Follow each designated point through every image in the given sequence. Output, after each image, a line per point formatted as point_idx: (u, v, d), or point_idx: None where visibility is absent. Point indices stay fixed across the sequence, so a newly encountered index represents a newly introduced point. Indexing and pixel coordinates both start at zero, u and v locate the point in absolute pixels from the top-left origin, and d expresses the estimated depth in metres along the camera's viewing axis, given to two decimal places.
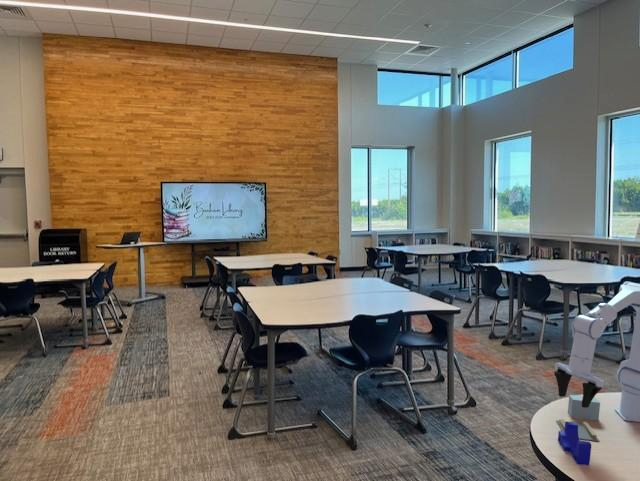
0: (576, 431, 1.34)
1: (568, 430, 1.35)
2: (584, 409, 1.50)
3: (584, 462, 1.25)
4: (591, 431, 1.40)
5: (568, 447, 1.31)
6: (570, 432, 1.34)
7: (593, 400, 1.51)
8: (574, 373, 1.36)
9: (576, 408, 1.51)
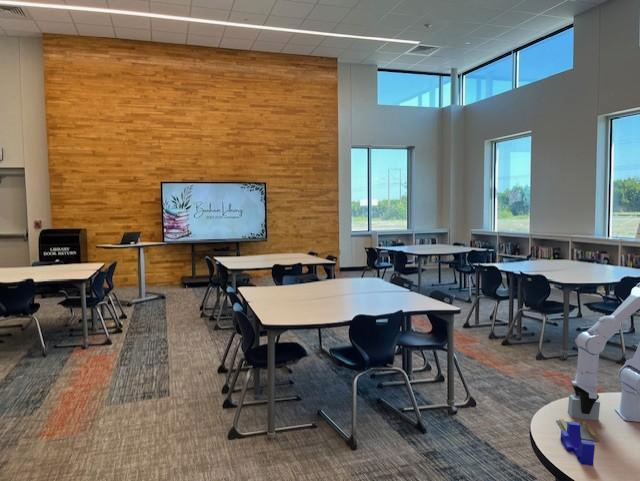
0: (578, 431, 1.34)
1: (571, 430, 1.35)
2: None
3: (588, 462, 1.25)
4: (591, 431, 1.40)
5: (571, 447, 1.31)
6: (573, 432, 1.34)
7: None
8: (575, 384, 1.51)
9: (576, 408, 1.51)
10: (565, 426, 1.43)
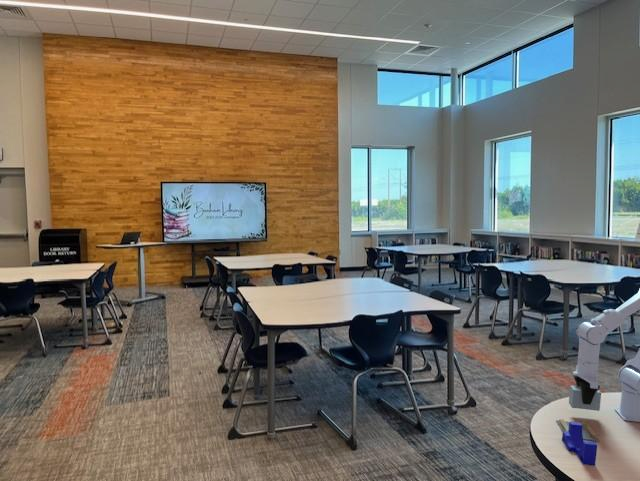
0: (580, 431, 1.34)
1: (572, 430, 1.35)
2: None
3: (590, 462, 1.25)
4: (591, 431, 1.40)
5: (573, 447, 1.31)
6: (574, 432, 1.34)
7: None
8: (576, 374, 1.50)
9: (577, 398, 1.50)
10: (565, 426, 1.43)
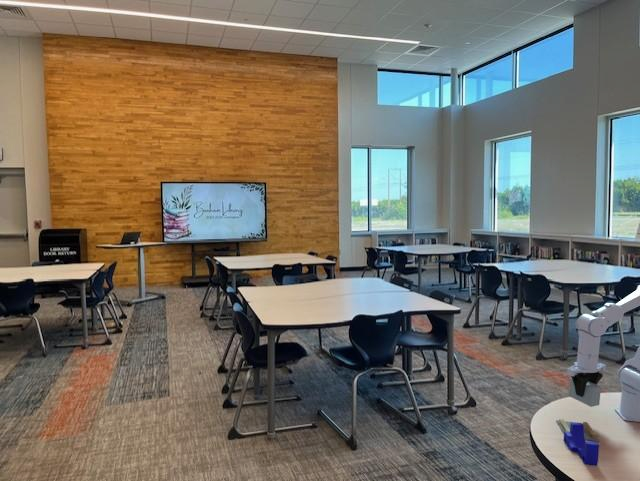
0: (582, 431, 1.34)
1: (574, 430, 1.35)
2: None
3: (592, 462, 1.25)
4: (591, 431, 1.40)
5: (575, 447, 1.31)
6: (576, 432, 1.34)
7: (591, 385, 1.46)
8: (575, 364, 1.50)
9: (572, 387, 1.50)
10: (565, 426, 1.43)
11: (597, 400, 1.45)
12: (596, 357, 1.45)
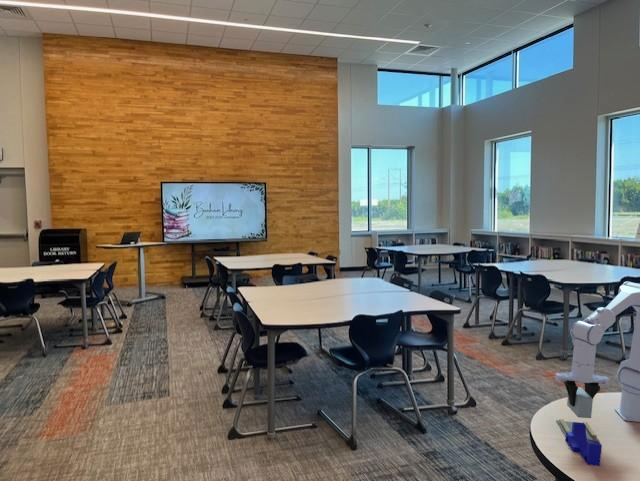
0: (584, 431, 1.34)
1: (576, 430, 1.35)
2: None
3: (594, 462, 1.25)
4: (591, 431, 1.40)
5: (577, 448, 1.31)
6: (578, 432, 1.34)
7: (581, 395, 1.39)
8: None
9: None
10: (565, 426, 1.43)
11: (588, 412, 1.38)
12: (587, 366, 1.37)
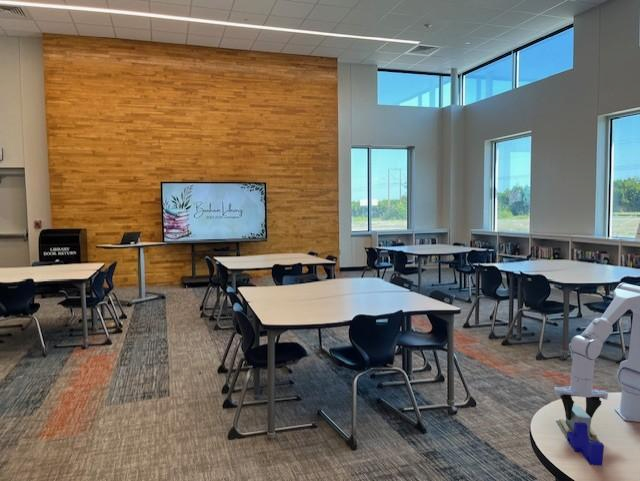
0: (585, 431, 1.34)
1: (578, 430, 1.35)
2: (571, 419, 1.43)
3: (597, 463, 1.25)
4: (591, 431, 1.40)
5: (579, 448, 1.31)
6: (580, 432, 1.34)
7: (580, 414, 1.40)
8: None
9: None
10: (565, 426, 1.43)
11: None
12: (586, 381, 1.38)
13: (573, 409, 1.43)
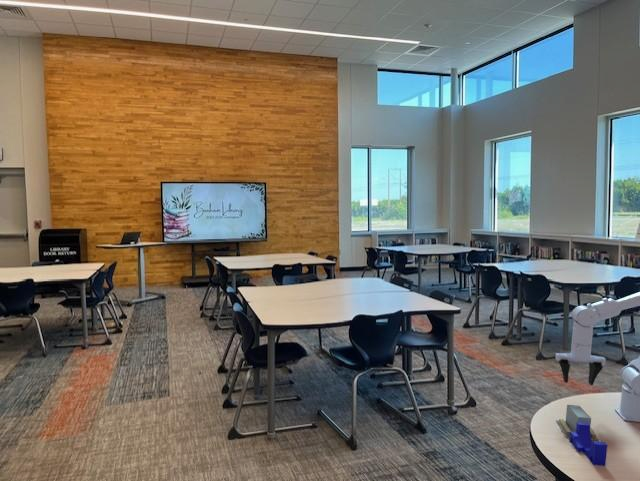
0: (588, 431, 1.34)
1: (580, 430, 1.35)
2: (571, 419, 1.43)
3: (600, 463, 1.25)
4: (591, 431, 1.40)
5: (582, 448, 1.31)
6: (582, 432, 1.34)
7: (580, 414, 1.40)
8: None
9: (568, 415, 1.45)
10: (565, 426, 1.43)
11: None
12: (584, 347, 1.51)
13: (573, 409, 1.43)
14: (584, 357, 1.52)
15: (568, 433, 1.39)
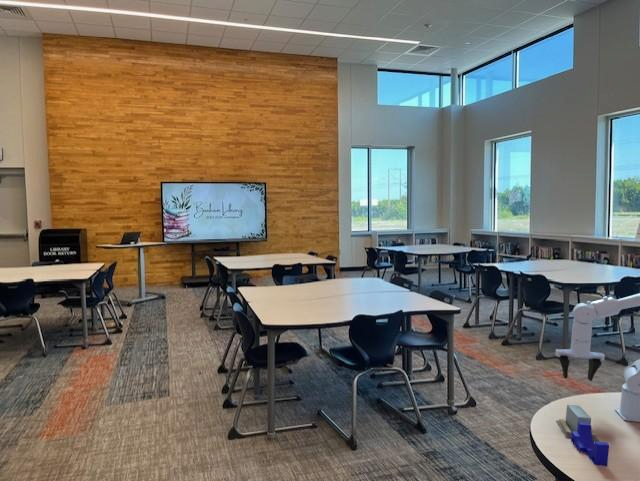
0: (589, 431, 1.34)
1: (582, 430, 1.35)
2: (571, 419, 1.43)
3: (602, 463, 1.25)
4: (591, 431, 1.40)
5: (584, 448, 1.31)
6: (584, 432, 1.34)
7: (580, 414, 1.40)
8: None
9: (568, 415, 1.45)
10: (565, 426, 1.43)
11: None
12: (584, 343, 1.55)
13: (573, 409, 1.43)
14: (583, 353, 1.55)
15: (568, 433, 1.39)
